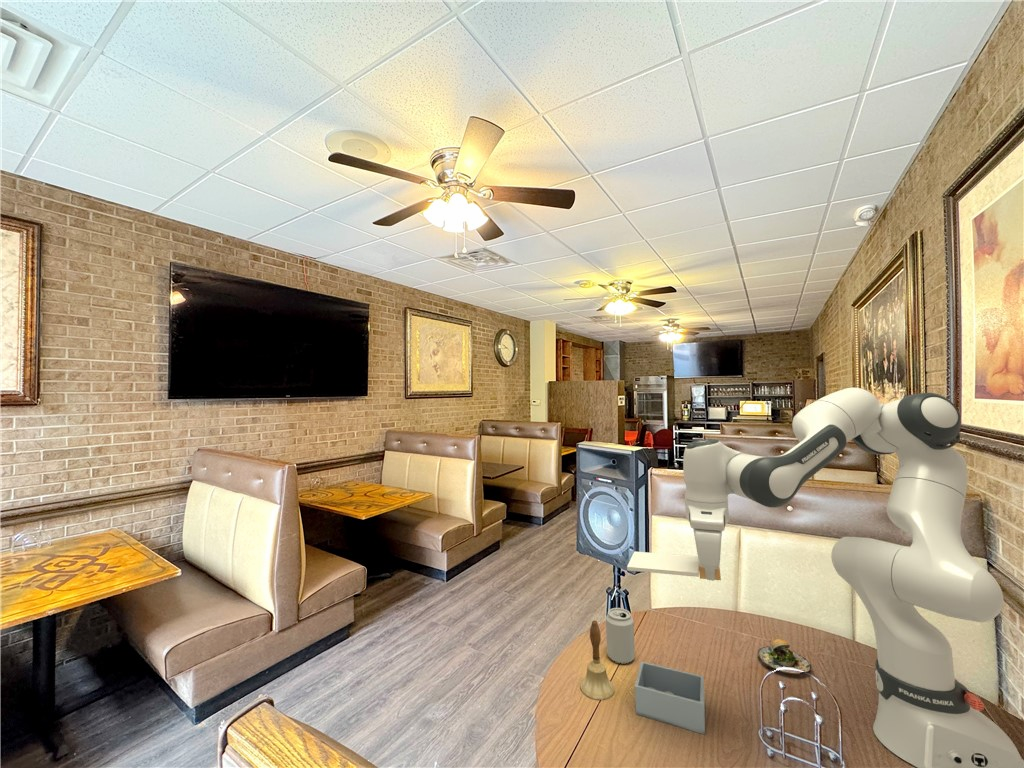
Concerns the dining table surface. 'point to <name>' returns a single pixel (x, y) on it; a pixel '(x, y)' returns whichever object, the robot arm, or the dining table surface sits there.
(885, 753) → the dining table surface
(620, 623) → the can
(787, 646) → the burger
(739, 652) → the dining table surface
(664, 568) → the lid
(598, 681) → the hand bell
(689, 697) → the tub
